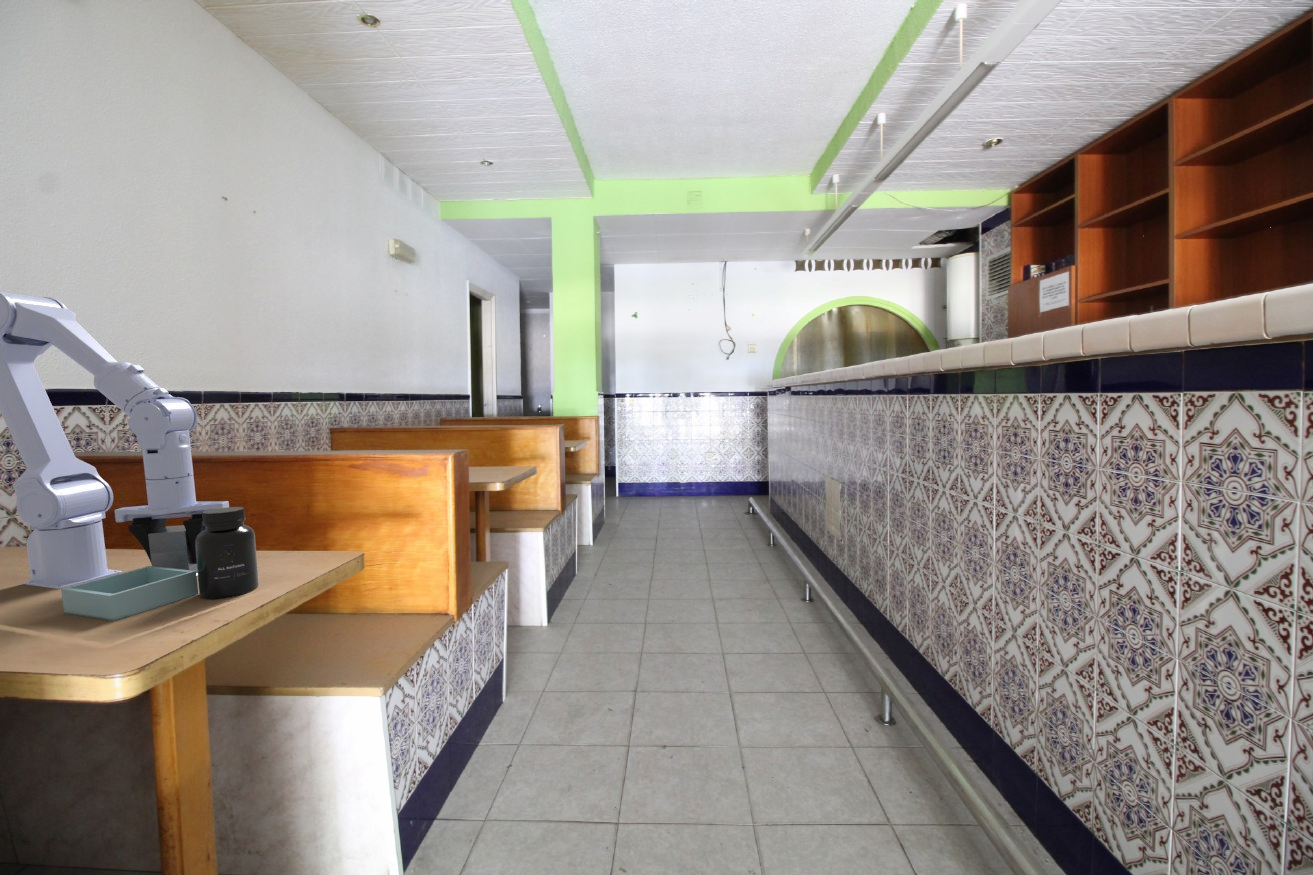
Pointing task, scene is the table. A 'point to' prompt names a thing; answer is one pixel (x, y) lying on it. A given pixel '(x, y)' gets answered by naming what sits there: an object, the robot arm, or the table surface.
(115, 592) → the bin
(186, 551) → the block
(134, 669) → the table surface
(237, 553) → the supplement bottle
